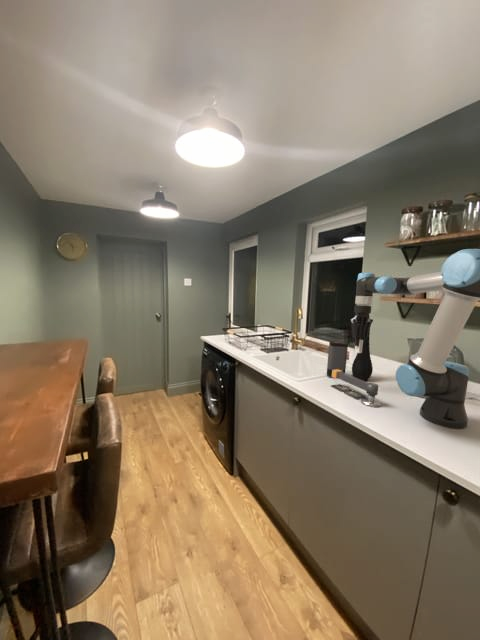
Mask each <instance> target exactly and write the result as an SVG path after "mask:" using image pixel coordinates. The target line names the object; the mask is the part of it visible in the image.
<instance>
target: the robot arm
mask: <svg viewBox="0 0 480 640" xmlns="http://www.w3.org/2000/svg"><path fill="white" fill-rule="evenodd" d="M355 291H356V292H355V301H354V304H355V305H354V310H353V311H354V313H355V314H354V317H353V318H350V319H349V321H350V325H351V326H350V327H351V338H353V339H354V340H355V341H354V352H355V353H362V346H363V343H364V340H366V339H365V338H367V337H368V334H369V330H370V331H371V325H372V324H373V322H374V319H372V318H371V317H370V314H371V313H372V304H373V297H374V294H381V295H399V296H401V295H402V296H414V295H416V294H421V293H430V292H440V291H443V292H444V295H443V297H442V299H441V301H440V304H439V306H438V308H437V310H436V313H435V315H434V316H433V319H432V321H431V323H430V325H429V328H428V330H427V332H426V334H425V336H424V338H423V341H422V342H421V345H420V347H419V349H418V351H417V352H416V353H413V354H411V355H410V357H409V359H408V361H407V364H405V363H404V364H402V365H399V366H398V367H397V369H396V371H395V380H396V383H397V384H396V385H397V386H398V388H399V389H400V390H401V391H402V392H403V394H406V395H407V396H409V397H416V398H417V397H418V398H420V397H421V398H422V397H426V398H425V399H424V402H422V404H421V406H420V409H419V416H421V417H422V418H423V419H424V420H427V421H429V422H431V423H433V424H436V425H439V426H442V427H446V428H451V429H466V428H467V427H468V424H469V423H468V422H469V421H468V420H469V418H468V415H467V411H466V406H465V401H466V396H467V390H468V389H467V388H468V384H469V383H468V381H469V379H470V369H469V367H468V366H466V365H464V364H461V363H457V362H454V361H449V360H448V358H449V356H450V354H451V352H452V350H453V348H454V346H455V344H456V343H457V340H458V338H459V337H460V334H461V333H462V331H463V329H464V328H465V325H466V323H467V321H468V320H469V318H470V316H471V314H472V312H473V310H474V308H475V307H476V304H477V303H478V302H479V301H480V248H466V249H461V250H460V249H459V251H457V252H455V253H452V254H451V255H450V256H448V258H447V259H445V261H444V263H443V264H442V267H441V271H436V272H431V273H426V274H420V275H414V276H409V277H403V278H401V277H392V276H386V275H384V276H376V274H375V273H372V272H360V273H358V274H357V280H356V290H355Z"/></svg>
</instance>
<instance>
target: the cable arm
mask: <svg viewBox="0 0 480 640" xmlns="http://www.w3.org/2000/svg"><path fill="white" fill-rule="evenodd" d="M332 377H333V378H332V379H339V380H341V381H343V382H345V383H348V384H349V385H351V386H352V385H353V386H354V387H357V388H358V389H360V390H363V391H366V393H365V394H367V395H368V394H370V395H375V396H378V394H379V384H377V383H374V382H368V381H363V380H360V379H358V378H355V377H354V376H353V375H351V374H348V373H346V372H345V373H343V371H341V370H339V369H336V370H332Z"/></svg>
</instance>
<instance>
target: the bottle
mask: <svg viewBox="0 0 480 640" xmlns="http://www.w3.org/2000/svg"><path fill="white" fill-rule="evenodd" d="M370 331H371V329H370V330H369V334H368V337H367V338H365V339H366V340H364V343H363V346H362V353H357V352H356V353H357V354H356V355H355V358H354V360H353V362H352V364H351V365H352V366H351V372H352V376H353V377H355V378H358V379H360V380H363V381H365V382H368V381H369V379H370V378H371V377H372V375H373V371H374V370H373V367H374V366H373V363H372V359H371V352H370V334H371V333H370Z"/></svg>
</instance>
